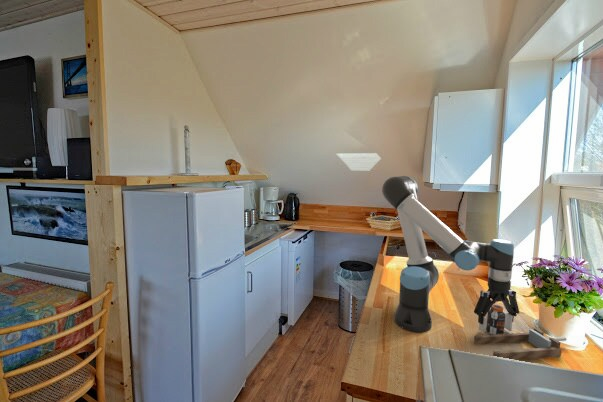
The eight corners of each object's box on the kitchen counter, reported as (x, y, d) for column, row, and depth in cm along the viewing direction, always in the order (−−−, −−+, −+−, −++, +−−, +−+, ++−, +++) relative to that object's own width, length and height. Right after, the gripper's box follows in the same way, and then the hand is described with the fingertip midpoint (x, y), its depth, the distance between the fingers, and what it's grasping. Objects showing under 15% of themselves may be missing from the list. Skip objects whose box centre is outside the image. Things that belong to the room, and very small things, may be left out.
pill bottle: (497, 338, 111) (500, 311, 109) (482, 330, 116) (484, 304, 115) (507, 334, 113) (509, 308, 112) (492, 327, 118) (494, 301, 117)
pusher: (546, 354, 101) (548, 341, 100) (528, 341, 108) (529, 329, 107) (574, 352, 102) (576, 339, 101) (554, 339, 109) (555, 327, 109)
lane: (495, 361, 97) (496, 348, 96) (473, 343, 107) (474, 331, 107) (560, 356, 100) (562, 343, 99) (533, 339, 110) (534, 327, 109)
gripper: (479, 283, 107) (475, 337, 109) (534, 280, 109) (529, 333, 112) (466, 276, 114) (462, 326, 117) (517, 273, 117) (513, 323, 119)
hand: (495, 330), depth 114 cm, fingers open, 11 cm apart
